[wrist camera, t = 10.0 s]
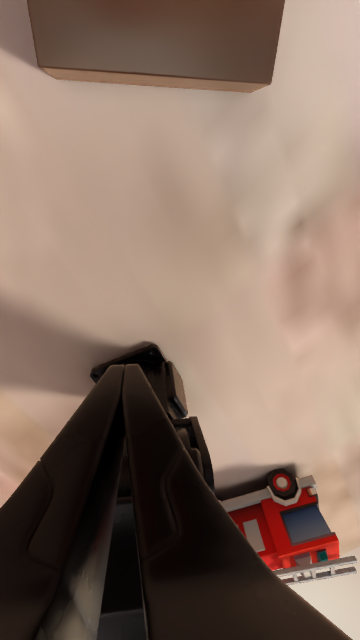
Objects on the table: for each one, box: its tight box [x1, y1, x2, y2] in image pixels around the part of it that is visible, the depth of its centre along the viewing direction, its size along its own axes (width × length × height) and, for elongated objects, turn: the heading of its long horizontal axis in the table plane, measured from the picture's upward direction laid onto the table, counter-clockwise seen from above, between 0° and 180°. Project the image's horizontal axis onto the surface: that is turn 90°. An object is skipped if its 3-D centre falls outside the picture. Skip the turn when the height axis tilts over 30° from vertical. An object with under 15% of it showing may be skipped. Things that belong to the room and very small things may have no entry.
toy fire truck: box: [218, 469, 357, 585], centre depth 36 cm, size 9×19×10 cm, turn 108°
